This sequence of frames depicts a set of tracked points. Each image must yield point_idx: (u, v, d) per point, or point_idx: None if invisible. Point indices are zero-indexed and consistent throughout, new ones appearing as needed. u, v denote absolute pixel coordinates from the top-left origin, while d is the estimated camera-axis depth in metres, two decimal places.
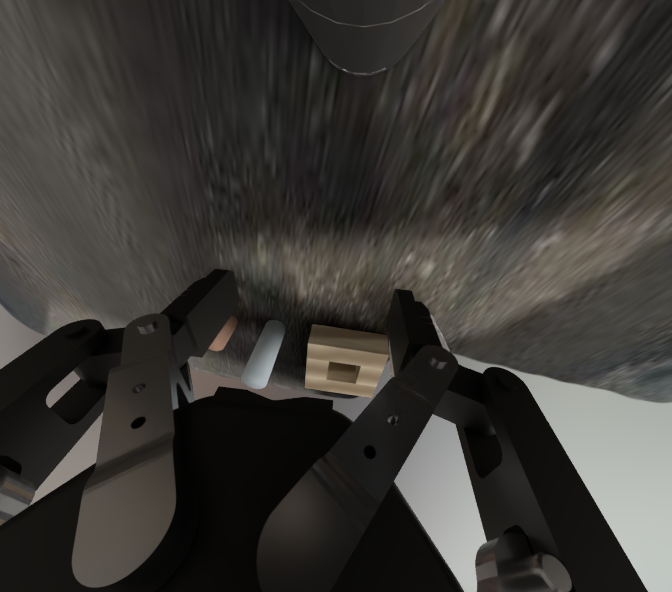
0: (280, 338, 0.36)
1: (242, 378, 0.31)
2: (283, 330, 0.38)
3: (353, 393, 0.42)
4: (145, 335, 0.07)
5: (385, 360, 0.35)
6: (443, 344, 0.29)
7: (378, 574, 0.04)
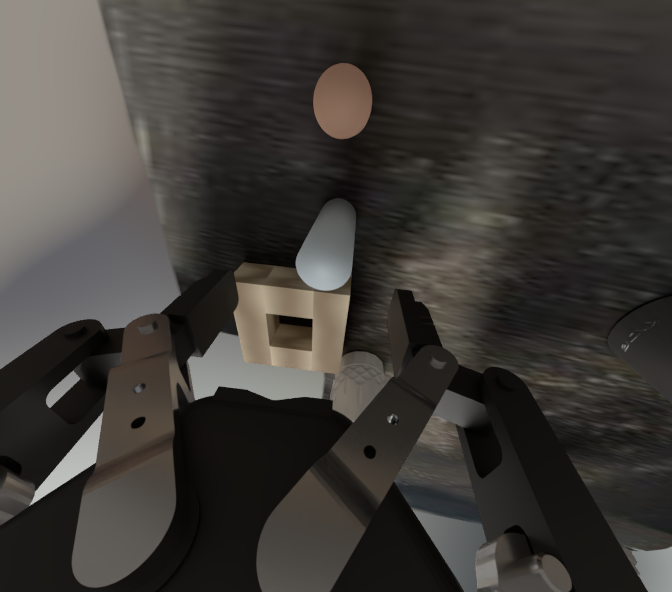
0: None
1: (330, 244, 0.13)
2: None
3: (244, 343, 0.28)
4: (145, 335, 0.07)
5: (328, 371, 0.29)
6: None
7: (378, 574, 0.04)
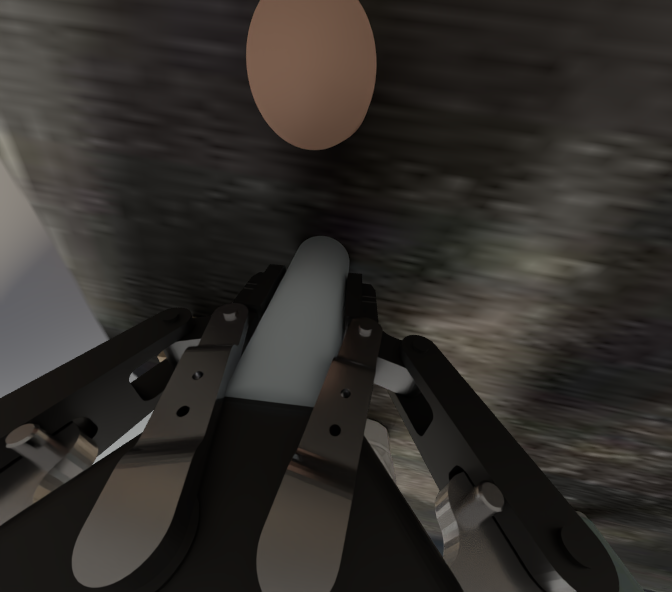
0: None
1: (285, 392, 0.06)
2: None
3: None
4: (232, 322, 0.08)
5: None
6: None
7: (378, 574, 0.04)
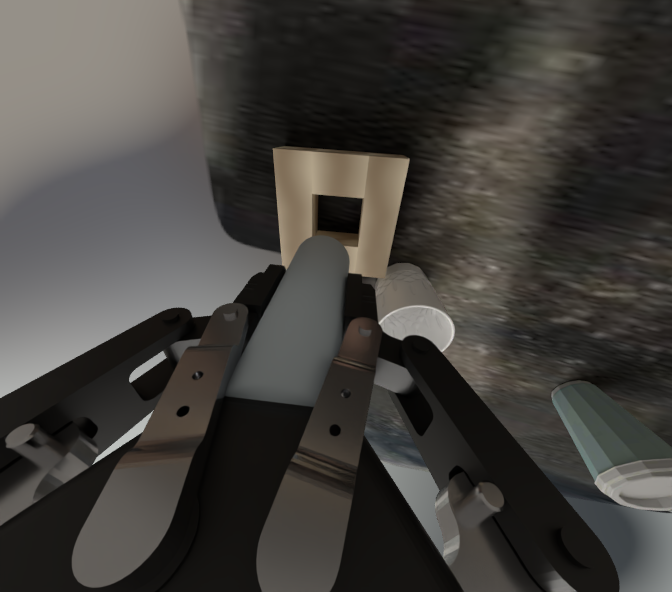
0: None
1: (285, 391, 0.06)
2: None
3: (284, 241, 0.26)
4: (232, 322, 0.08)
5: (373, 275, 0.27)
6: None
7: (378, 574, 0.04)
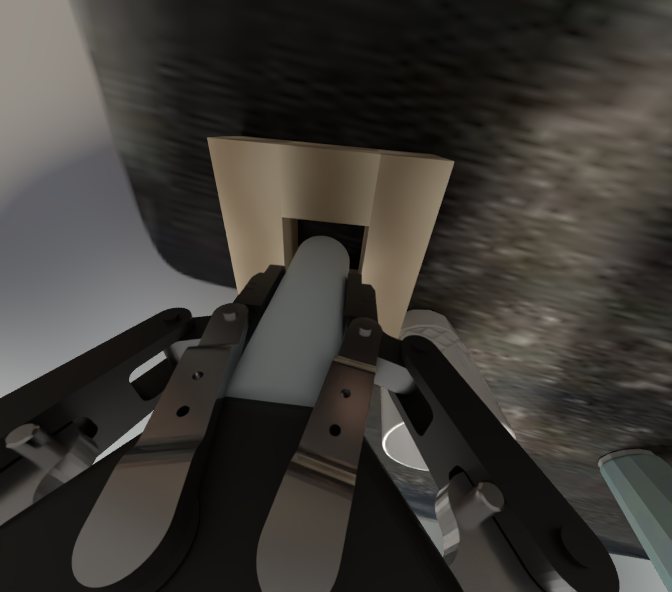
0: None
1: (285, 392, 0.06)
2: None
3: (243, 286, 0.16)
4: (232, 322, 0.08)
5: None
6: None
7: (378, 574, 0.04)
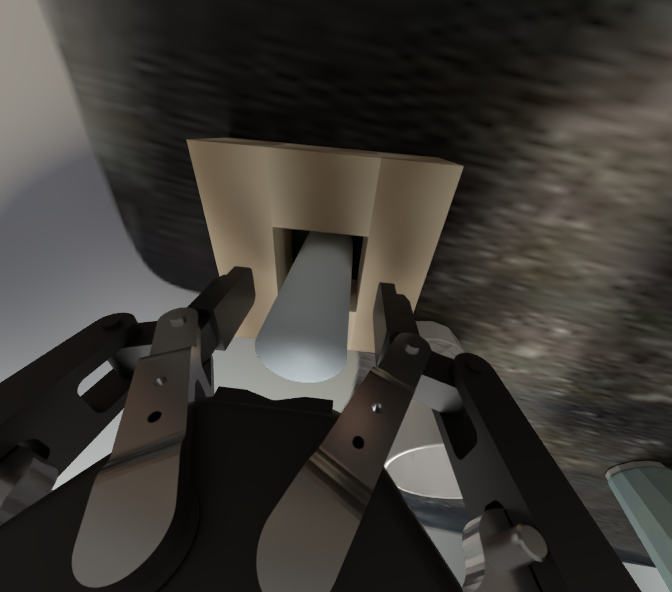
0: None
1: (309, 325, 0.08)
2: None
3: None
4: (177, 328, 0.08)
5: None
6: None
7: (378, 574, 0.04)
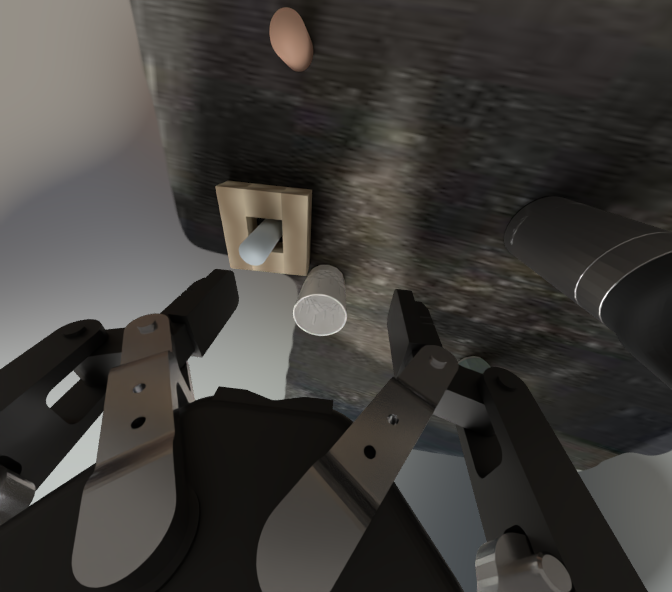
0: None
1: (254, 242, 0.28)
2: None
3: (230, 248, 0.35)
4: (145, 335, 0.07)
5: (297, 273, 0.37)
6: None
7: (378, 574, 0.04)
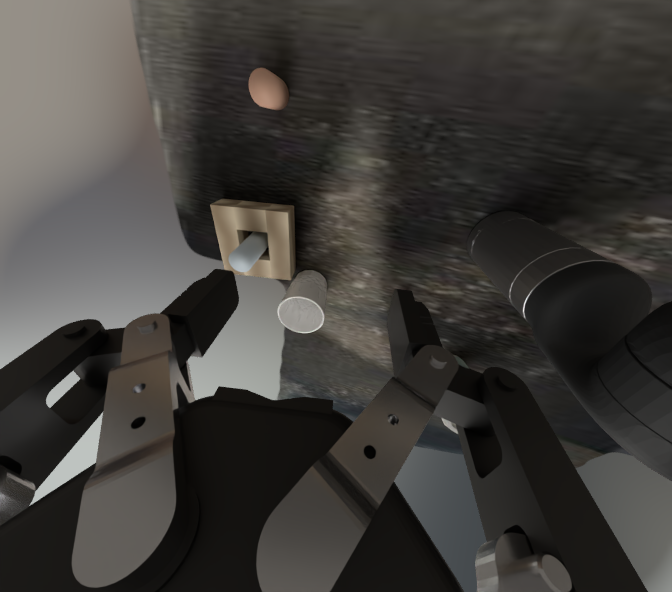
0: None
1: (240, 252, 0.34)
2: None
3: (224, 256, 0.41)
4: (145, 335, 0.07)
5: (283, 278, 0.43)
6: None
7: (378, 574, 0.04)
